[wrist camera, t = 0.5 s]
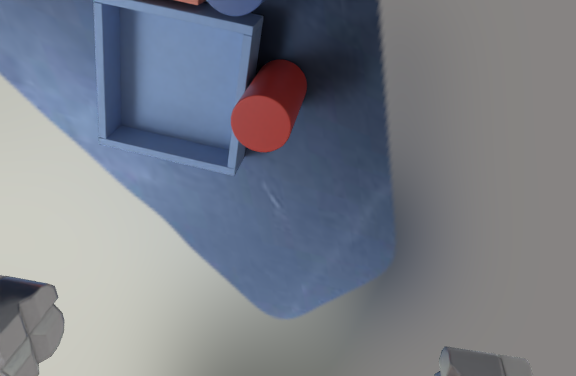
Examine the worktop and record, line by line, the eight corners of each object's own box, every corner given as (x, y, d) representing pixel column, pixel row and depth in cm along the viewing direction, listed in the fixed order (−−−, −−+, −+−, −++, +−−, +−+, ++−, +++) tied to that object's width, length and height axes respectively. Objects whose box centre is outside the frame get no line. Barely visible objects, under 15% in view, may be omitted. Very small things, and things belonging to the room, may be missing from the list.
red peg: (260, 54, 34) (233, 89, 28) (311, 65, 34) (296, 103, 28) (253, 102, 36) (227, 145, 30) (302, 113, 36) (285, 158, 30)
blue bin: (114, -17, 33) (92, -9, 31) (263, 15, 33) (253, 26, 30) (117, 127, 39) (98, 144, 36) (244, 157, 38) (234, 176, 36)
